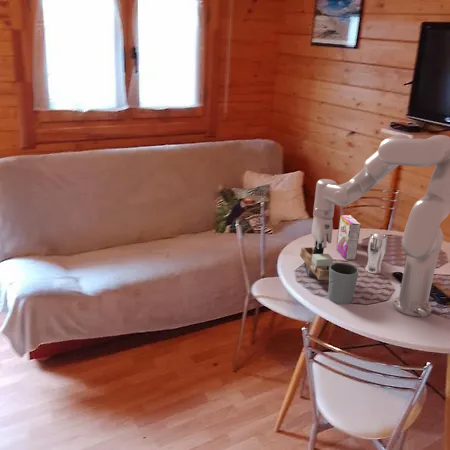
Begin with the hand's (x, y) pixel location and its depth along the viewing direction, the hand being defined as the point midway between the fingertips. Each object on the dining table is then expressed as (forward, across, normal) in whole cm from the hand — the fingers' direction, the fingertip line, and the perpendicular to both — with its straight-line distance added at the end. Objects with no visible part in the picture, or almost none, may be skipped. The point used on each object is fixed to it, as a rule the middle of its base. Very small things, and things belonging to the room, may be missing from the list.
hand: (318, 256), depth 192 cm
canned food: (+8, +30, -25) cm, 40 cm away
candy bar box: (+8, +18, -20) cm, 28 cm away
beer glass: (+8, +2, -25) cm, 26 cm away
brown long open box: (+8, +1, 0) cm, 8 cm away
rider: (+3, -4, 0) cm, 5 cm away
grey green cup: (+8, -19, -2) cm, 21 cm away
